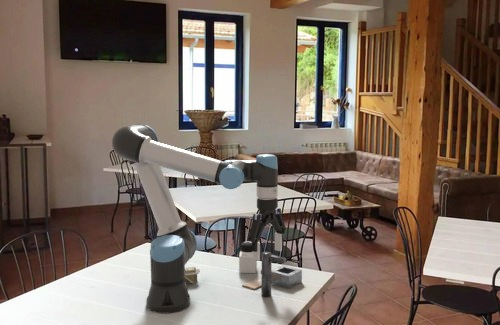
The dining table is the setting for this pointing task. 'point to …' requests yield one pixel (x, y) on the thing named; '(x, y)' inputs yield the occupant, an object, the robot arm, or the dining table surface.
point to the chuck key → (268, 272)
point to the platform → (191, 275)
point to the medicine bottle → (247, 259)
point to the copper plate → (252, 284)
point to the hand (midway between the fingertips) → (267, 255)
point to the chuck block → (286, 276)
